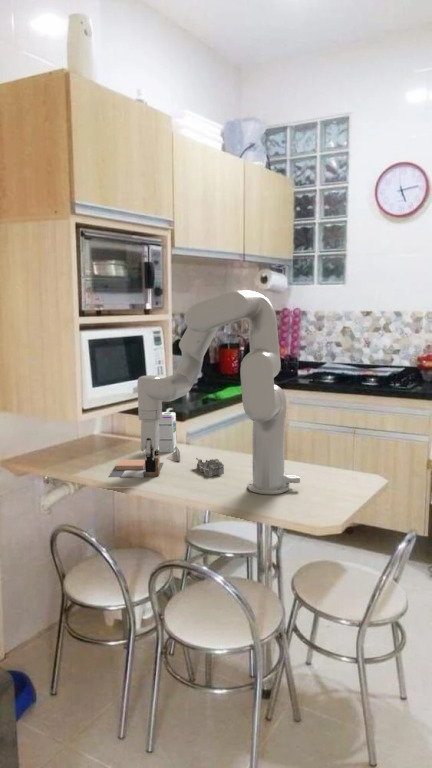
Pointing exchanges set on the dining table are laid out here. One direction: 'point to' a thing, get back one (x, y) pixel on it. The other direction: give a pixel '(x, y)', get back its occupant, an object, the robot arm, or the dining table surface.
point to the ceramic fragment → (175, 456)
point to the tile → (130, 465)
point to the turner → (141, 473)
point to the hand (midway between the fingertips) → (152, 468)
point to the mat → (119, 472)
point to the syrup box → (167, 432)
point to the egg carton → (210, 467)
